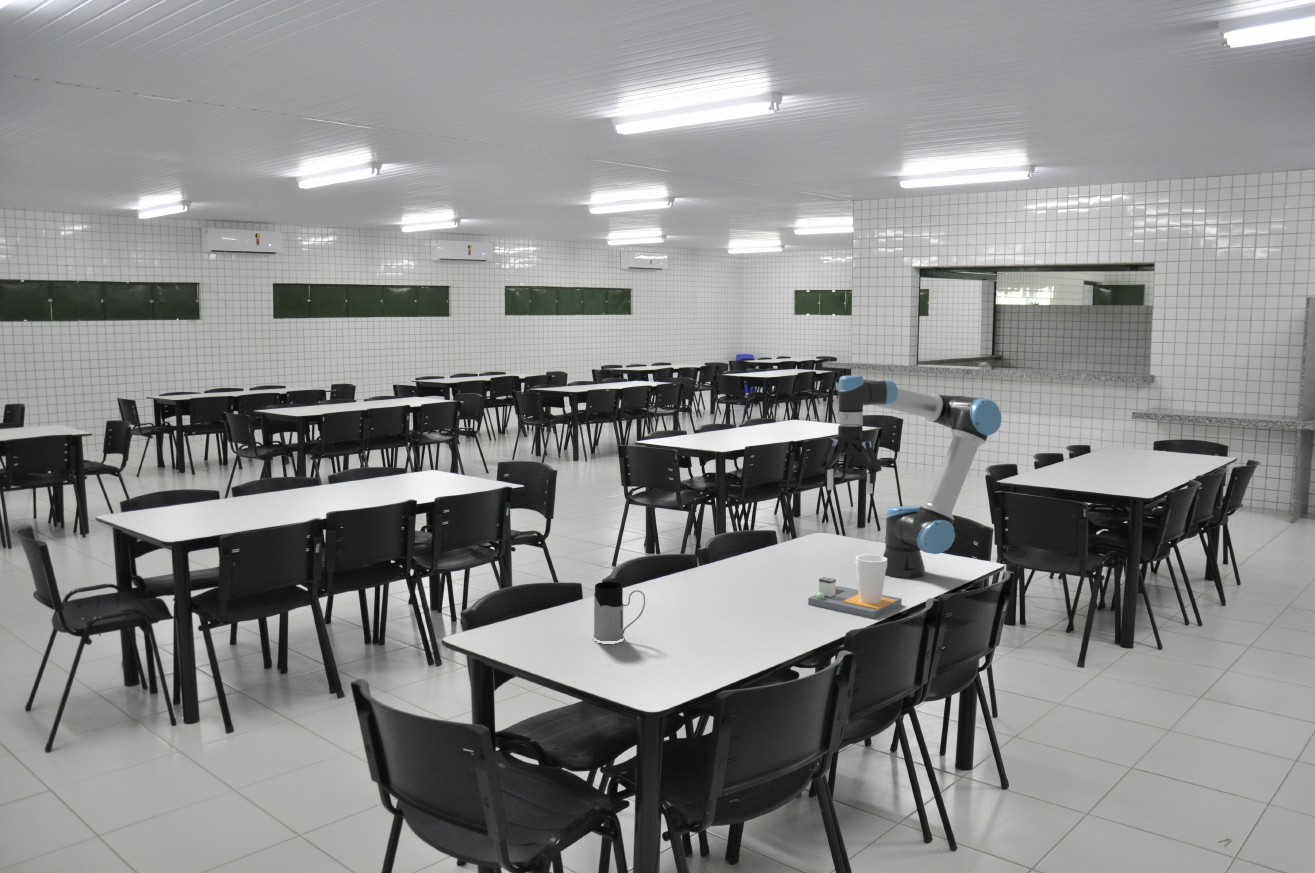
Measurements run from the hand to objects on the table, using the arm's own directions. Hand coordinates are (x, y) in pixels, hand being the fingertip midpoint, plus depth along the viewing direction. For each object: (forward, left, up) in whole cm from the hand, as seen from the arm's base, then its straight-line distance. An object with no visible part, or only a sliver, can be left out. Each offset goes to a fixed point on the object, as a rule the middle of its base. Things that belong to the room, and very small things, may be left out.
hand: (849, 491), depth 306 cm
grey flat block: (+12, +9, -32) cm, 36 cm away
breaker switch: (+15, +1, -30) cm, 34 cm away
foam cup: (+12, +14, -30) cm, 35 cm away
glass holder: (+83, -24, -33) cm, 92 cm away
